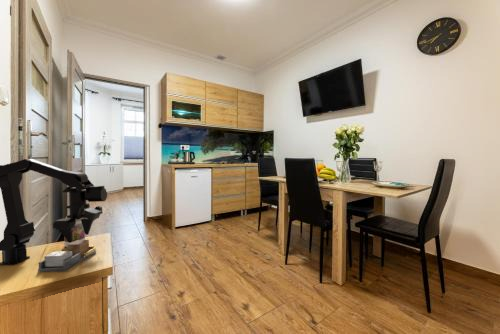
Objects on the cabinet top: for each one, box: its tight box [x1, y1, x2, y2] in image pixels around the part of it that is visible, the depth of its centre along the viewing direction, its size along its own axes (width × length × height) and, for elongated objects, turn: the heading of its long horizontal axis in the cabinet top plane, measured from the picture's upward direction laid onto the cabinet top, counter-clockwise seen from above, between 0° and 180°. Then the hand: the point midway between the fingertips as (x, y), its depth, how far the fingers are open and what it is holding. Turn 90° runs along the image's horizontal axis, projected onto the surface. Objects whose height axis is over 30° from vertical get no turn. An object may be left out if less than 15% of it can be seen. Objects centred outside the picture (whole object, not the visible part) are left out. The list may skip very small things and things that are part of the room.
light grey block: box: [44, 250, 72, 267], centre depth 82 cm, size 7×5×4 cm
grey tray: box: [37, 245, 97, 273], centre depth 87 cm, size 10×16×4 cm, turn 2°
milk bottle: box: [63, 208, 86, 248], centre depth 104 cm, size 8×8×20 cm
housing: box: [67, 239, 90, 256], centre depth 91 cm, size 5×5×5 cm
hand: (79, 238), depth 91 cm, fingers open, 9 cm apart
